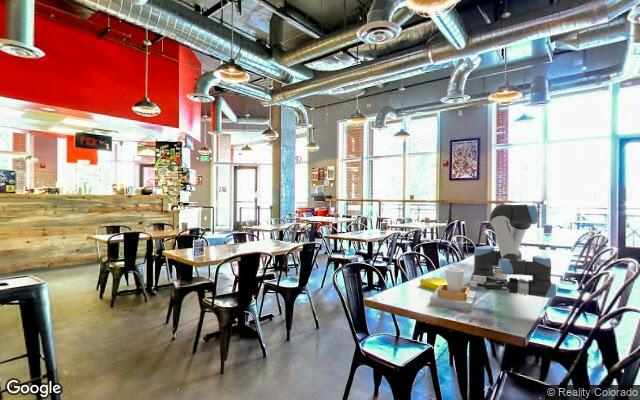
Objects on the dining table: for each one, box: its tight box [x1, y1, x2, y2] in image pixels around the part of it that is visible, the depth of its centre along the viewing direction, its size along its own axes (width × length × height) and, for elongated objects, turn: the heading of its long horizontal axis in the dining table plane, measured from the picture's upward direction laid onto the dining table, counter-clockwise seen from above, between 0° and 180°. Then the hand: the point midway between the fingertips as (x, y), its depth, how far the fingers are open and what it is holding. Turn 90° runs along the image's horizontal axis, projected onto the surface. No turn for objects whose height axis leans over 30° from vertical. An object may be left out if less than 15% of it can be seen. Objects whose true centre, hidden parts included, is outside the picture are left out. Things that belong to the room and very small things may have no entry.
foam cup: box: [444, 267, 465, 293], centre depth 185 cm, size 10×9×13 cm
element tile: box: [419, 276, 447, 292], centre depth 213 cm, size 15×15×5 cm
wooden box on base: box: [429, 284, 477, 312], centre depth 185 cm, size 24×20×7 cm
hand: (471, 280), depth 181 cm, fingers open, 13 cm apart
